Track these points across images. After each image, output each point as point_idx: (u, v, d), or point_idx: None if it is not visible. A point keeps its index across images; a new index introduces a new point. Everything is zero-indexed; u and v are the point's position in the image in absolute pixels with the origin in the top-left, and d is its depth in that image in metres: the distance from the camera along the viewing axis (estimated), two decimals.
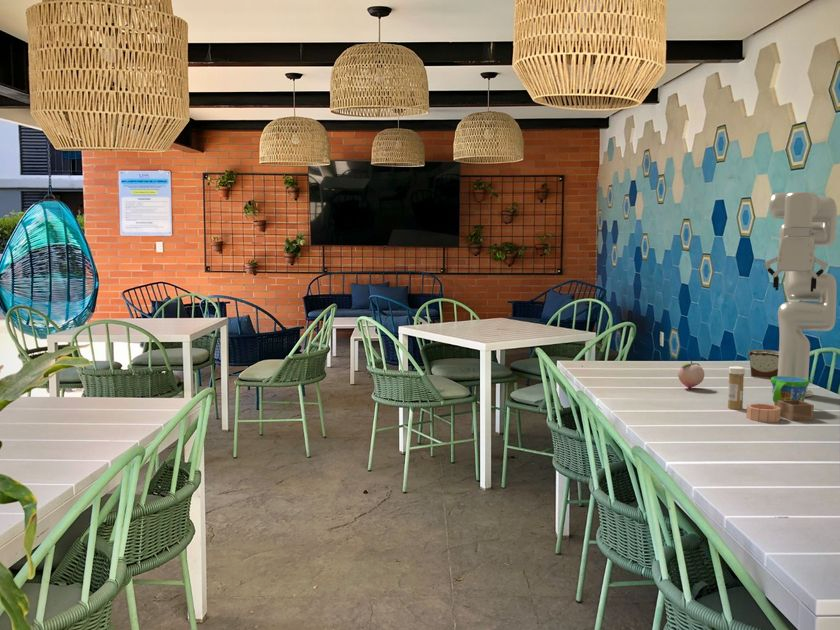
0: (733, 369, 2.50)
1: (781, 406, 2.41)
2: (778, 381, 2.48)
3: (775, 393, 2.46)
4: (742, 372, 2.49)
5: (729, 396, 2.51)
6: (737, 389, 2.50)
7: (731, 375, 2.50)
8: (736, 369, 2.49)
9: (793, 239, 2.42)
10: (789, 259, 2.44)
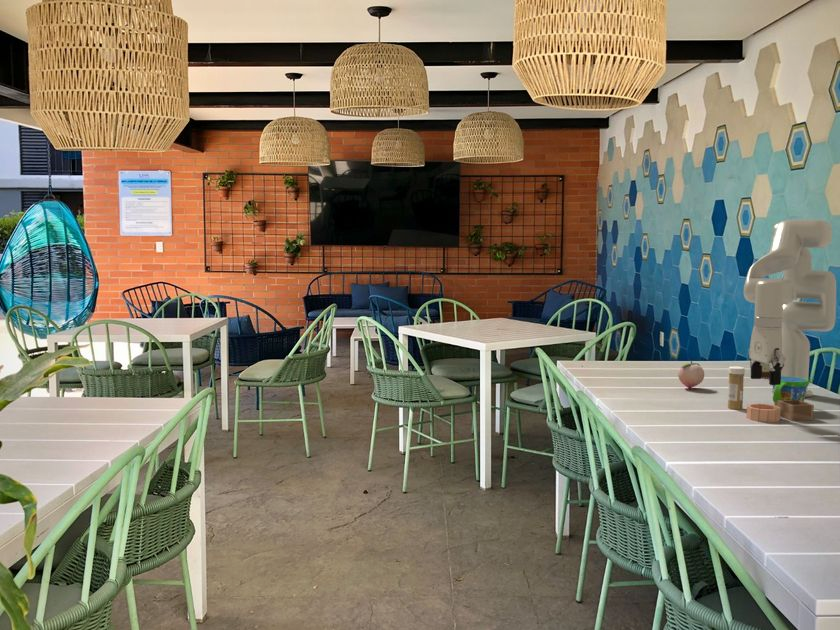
0: (733, 369, 2.50)
1: (781, 406, 2.41)
2: None
3: (775, 393, 2.46)
4: (742, 372, 2.49)
5: (729, 396, 2.51)
6: (737, 389, 2.50)
7: (731, 375, 2.50)
8: (736, 369, 2.49)
9: None
10: None
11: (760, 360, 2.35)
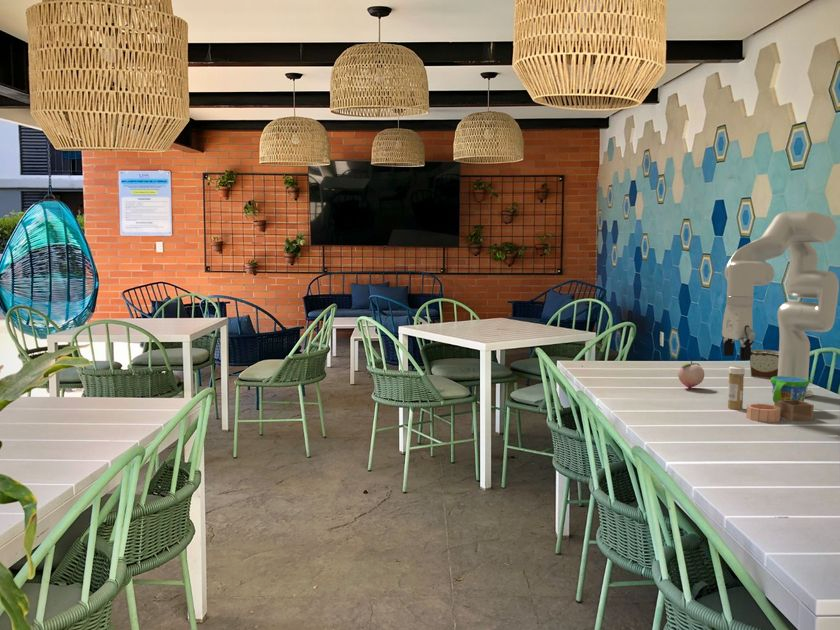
0: (733, 369, 2.50)
1: (781, 406, 2.41)
2: (778, 381, 2.48)
3: (775, 393, 2.46)
4: (742, 372, 2.49)
5: (729, 396, 2.51)
6: (737, 389, 2.50)
7: (731, 375, 2.50)
8: (736, 369, 2.49)
9: None
10: None
11: (731, 337, 2.48)
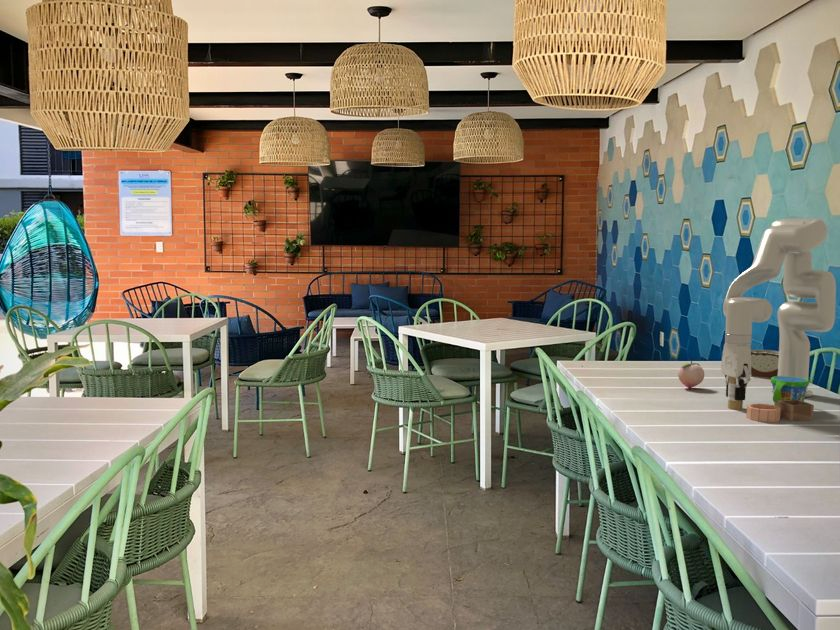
0: None
1: (781, 406, 2.41)
2: (778, 381, 2.48)
3: (775, 393, 2.46)
4: None
5: (729, 396, 2.51)
6: None
7: None
8: None
9: None
10: None
11: (730, 374, 2.49)
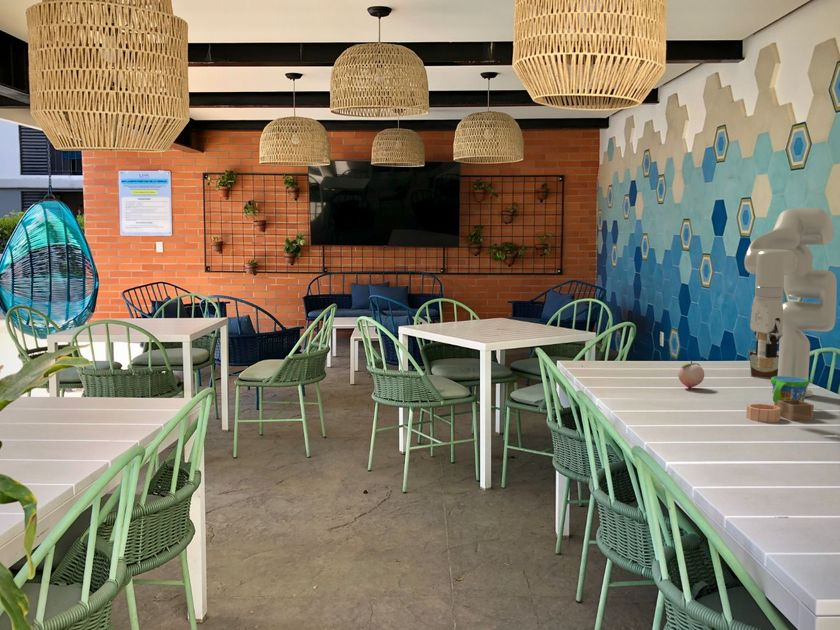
0: None
1: (781, 406, 2.41)
2: (778, 381, 2.48)
3: (775, 393, 2.46)
4: None
5: (759, 353, 2.36)
6: None
7: None
8: None
9: None
10: None
11: (761, 330, 2.34)
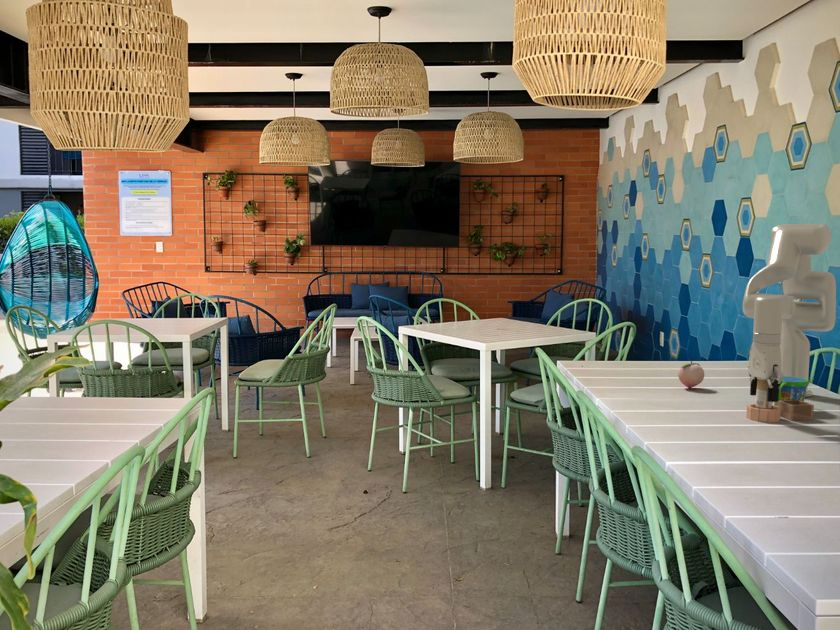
0: None
1: (781, 406, 2.41)
2: None
3: None
4: None
5: (757, 403, 2.38)
6: (766, 396, 2.36)
7: (760, 381, 2.37)
8: None
9: None
10: None
11: (759, 376, 2.35)
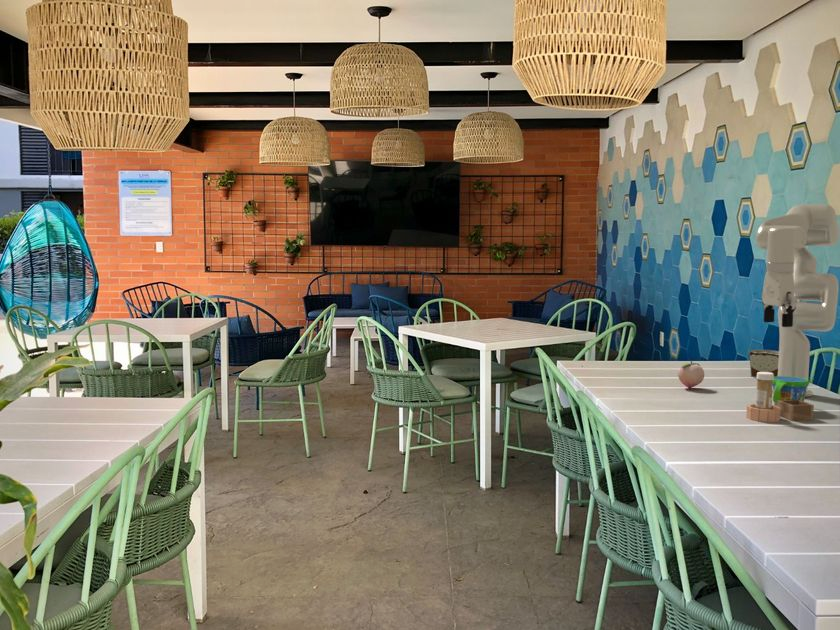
0: (762, 375, 2.36)
1: (781, 406, 2.41)
2: (778, 381, 2.48)
3: (775, 393, 2.46)
4: (771, 378, 2.36)
5: (757, 403, 2.38)
6: (766, 396, 2.36)
7: (759, 381, 2.37)
8: (765, 375, 2.36)
9: None
10: None
11: (773, 304, 2.46)
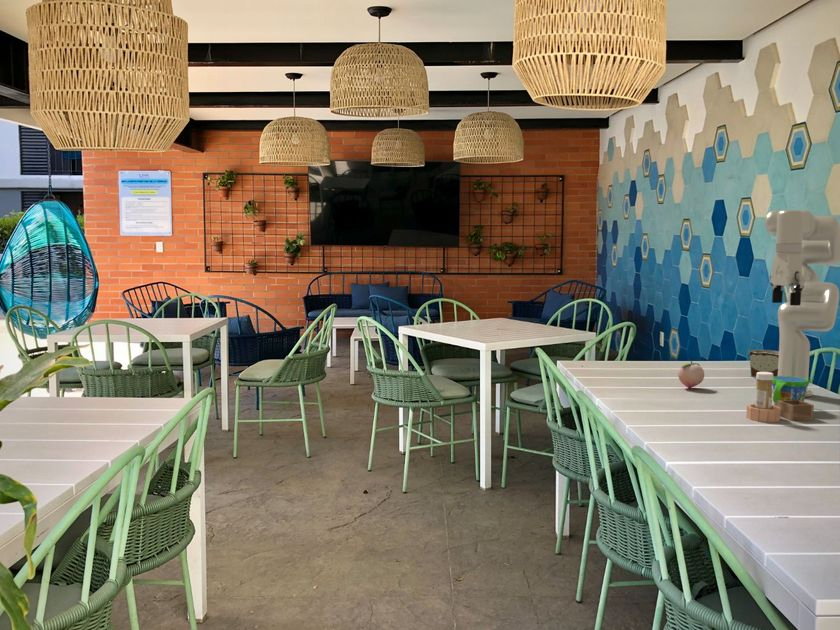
0: (761, 375, 2.36)
1: (781, 406, 2.41)
2: (778, 381, 2.48)
3: (775, 393, 2.46)
4: (771, 378, 2.36)
5: (757, 403, 2.38)
6: (765, 396, 2.36)
7: (759, 381, 2.37)
8: (765, 375, 2.36)
9: None
10: None
11: (781, 283, 2.55)
